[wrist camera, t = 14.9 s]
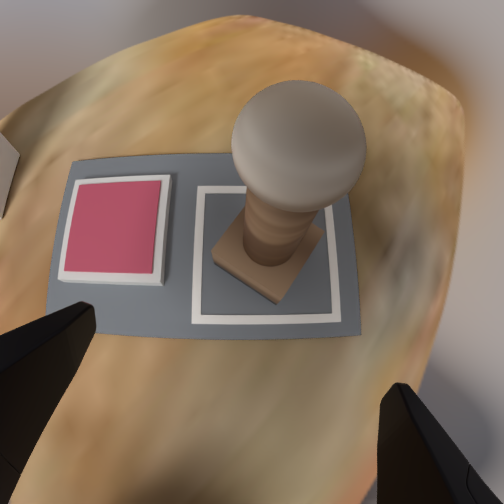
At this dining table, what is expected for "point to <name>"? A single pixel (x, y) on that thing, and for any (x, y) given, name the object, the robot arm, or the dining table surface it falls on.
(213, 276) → the stamping board
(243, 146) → the walnut stamp
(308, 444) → the dining table surface
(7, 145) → the milk carton
